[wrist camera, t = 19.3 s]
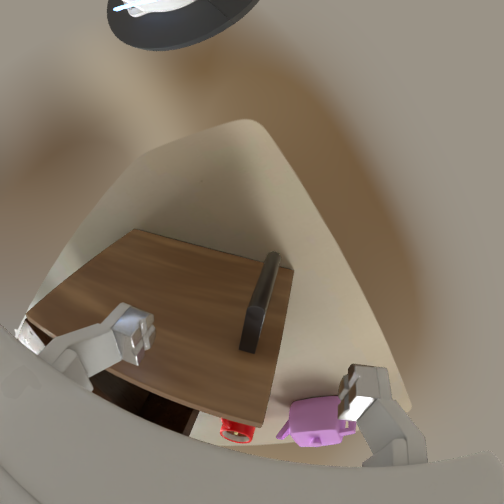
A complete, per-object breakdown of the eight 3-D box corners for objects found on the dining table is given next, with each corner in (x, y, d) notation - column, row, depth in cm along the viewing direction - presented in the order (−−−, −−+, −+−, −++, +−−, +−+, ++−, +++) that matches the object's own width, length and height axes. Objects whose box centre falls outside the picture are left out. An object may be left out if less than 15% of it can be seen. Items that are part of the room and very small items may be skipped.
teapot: (288, 421, 58) (281, 455, 49) (273, 400, 55) (265, 438, 46) (358, 412, 52) (359, 448, 43) (352, 389, 48) (353, 430, 39)
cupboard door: (133, 195, 39) (9, 269, 18) (304, 233, 36) (281, 386, 15) (134, 234, 42) (27, 320, 21) (292, 275, 39) (260, 428, 18)
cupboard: (132, 233, 42) (24, 319, 21) (227, 344, 49) (179, 458, 28) (91, 276, 50) (13, 347, 29) (170, 363, 56) (122, 448, 35)
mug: (240, 393, 56) (231, 421, 49) (263, 418, 59) (257, 443, 53) (213, 395, 59) (203, 421, 52) (237, 419, 62) (230, 443, 56)
